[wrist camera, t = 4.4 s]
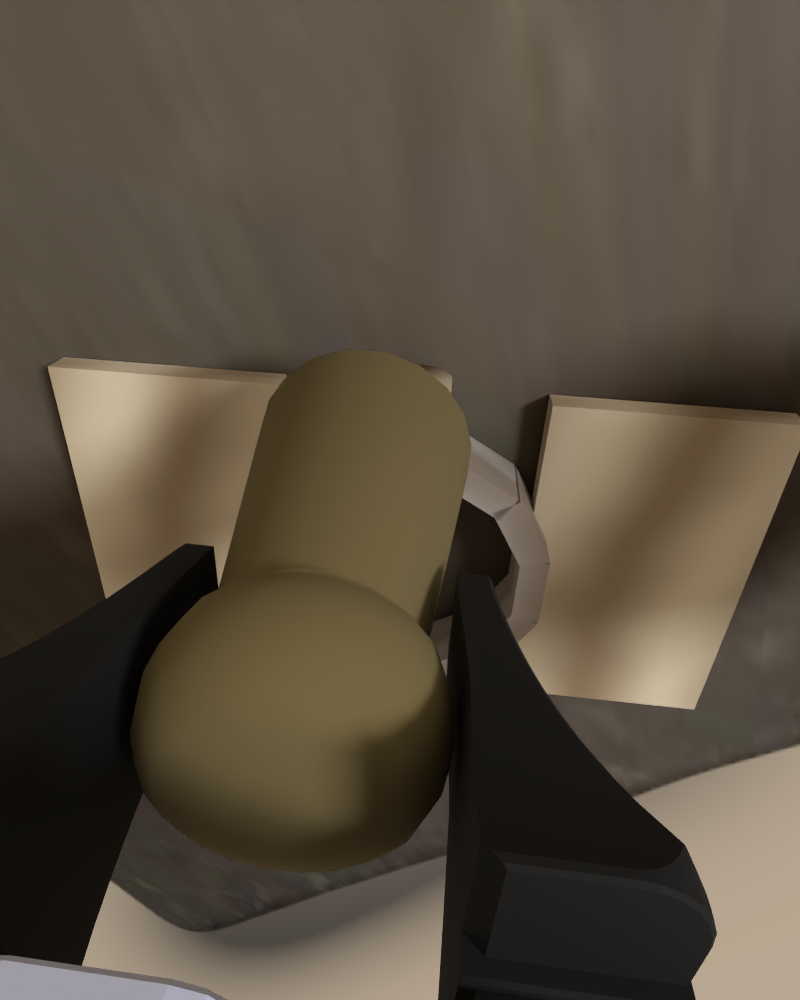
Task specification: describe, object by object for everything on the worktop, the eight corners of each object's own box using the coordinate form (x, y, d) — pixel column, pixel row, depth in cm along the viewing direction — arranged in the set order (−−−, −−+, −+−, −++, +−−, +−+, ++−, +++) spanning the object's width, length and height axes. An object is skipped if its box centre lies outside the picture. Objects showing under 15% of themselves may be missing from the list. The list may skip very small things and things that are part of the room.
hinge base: (803, 393, 21) (841, 425, 19) (682, 702, 28) (700, 750, 26) (59, 337, 22) (14, 361, 20) (131, 643, 30) (104, 684, 28)
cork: (321, 557, 21) (212, 940, 12) (220, 396, 18) (-32, 738, 9) (501, 501, 19) (540, 898, 10) (421, 313, 16) (372, 628, 7)
